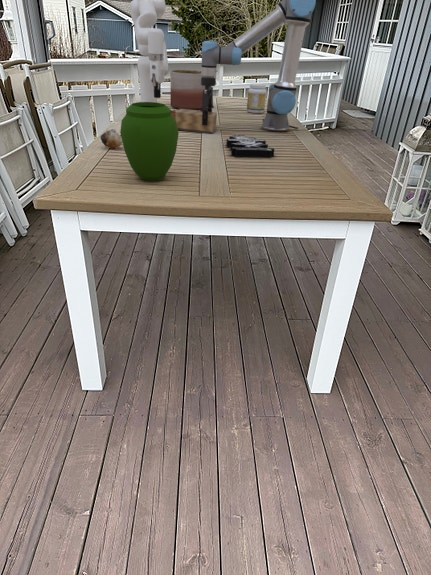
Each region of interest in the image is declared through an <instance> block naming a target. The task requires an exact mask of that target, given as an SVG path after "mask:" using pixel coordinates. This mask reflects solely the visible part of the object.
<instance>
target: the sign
mask: <svg viewBox="0 0 431 575" xmlns="http://www.w3.org/2000/svg"><path fill="white" fill-rule="evenodd" d="M225 144H226V148H229V151H230V155H231V156H233V157H235V158H272V157H274V156H275V148H274V147H269V144H268V143H267V140H265V139H262V138H260V139H258V138H256V137H250V136H245V134H238V135H237V134H234V135H229V137H228V138H226V143H225Z"/></svg>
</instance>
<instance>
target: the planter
mask: <svg viewBox="0 0 431 575" xmlns="http://www.w3.org/2000/svg"><path fill="white" fill-rule="evenodd" d="M201 78H202V76H201V70H196V69H195V70H194V69H171V70H170V106H171V107H172V108H174V109H177V110H180V109H188V110H198V111H201V110H202V101H203V90H205V86H203V85H201Z"/></svg>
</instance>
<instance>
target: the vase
mask: <svg viewBox="0 0 431 575" xmlns="http://www.w3.org/2000/svg"><path fill="white" fill-rule="evenodd" d="M171 111H172V109H171V108H170V107H169V106H167V105H166V104H164V103H162V102H157V103H156V102H141V101H138V102H132V103H131V104H130V105H128V107H127V108H125V113H126V114H125V115H124V117H122V119H121V122H120V123H121V124H120V130H119V133H120V134H119V135H120V136H121V138H122V142H123V143H122V147H123V150H124V154H125V155H126V158H127V160H128V163H129V165H130V167H131V168H132V170H133V172H134V173H135V175H136V176H137V177H138V178H139V179H141V180H143V181H145V182H159V181H161V180H163V179H164V178H165V176H166V175H167V174H168V173H169V170H170V169H171V167H172V165H173V162H174V159H175V157H176V156H175V155H176V153H177V147H178V140H179V130H178V128H177V123H176V120H175V119H174V118H173V116H172V115H171Z"/></svg>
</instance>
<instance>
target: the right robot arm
mask: <svg viewBox="0 0 431 575" xmlns="http://www.w3.org/2000/svg"><path fill="white" fill-rule="evenodd" d="M316 1H317V0H281V1H280V2H279V3H277V4H276V5H275V6H276V7H275V8H274V9H273V10H272V11H271V12H269V13H268V14H267V15H265V16H264V17H263V18H262V19H260V20H259V21H257V22H256V23H255V24H254V25H252V26H251V27H250V28H249V29H247V30H245V32H243V33H242V34H240V35H239V36H238V37H236V39H234V40H233V41H232V42H230V43H228V45H225V46H219V45H218V41H214V40H213V41H212V40H204V41H203V42H202V47H201V68H200V71H201V76H202V78H201V85H203V86H205V90H203V101H202V109H201V110H200V111H201V112H202V125H207V122H208V112H213V109H214V108H215V106H214V87H215V86H217V78H216V76H217V73H218V69H217V65H228V66H229V65H230V66H240V65H241V62H242V55H243V54H245V53H246V52H248V50H250V49H251V48H253V47H254V46H255V45H256V44H258V43H259V42H261V41H262V40H263V39H265V38H266V37H268V36H269V35H270V34H271V33H273V32H274V31H275V30H277V29H278V28H280V27H281V26H282V25H286V26H287V27H286V31H285V37H284V44H283V49H282V55H281V61H280V67H279V70H278V71H279V72H278V79H277V81H275V82H274V83H271V84H269V87H268V93H267V94H268V96H267V104H266V113H265V117H264V118H262V124H261V129H262V130H264V131H267V132H273V133H284V132H288V131H289V130H290V128H291V129H295V130H298V129H299V127H298V126H293V125H289V118H288V114H290V113H291V112H292V111H293V110H294V108H295V107H296V103H297V102H296V99H297V98H296V93H297V88H298V86H297V85H296V78H297V72H298V69H299V68H298V67H299V63H300V57H301V52H302V47H303V43H304V36H305V32H306V28H307V27H308V26H309V25H310V24H311V18H312V13H313V12H314V10H315V7H316V3H317V2H316Z"/></svg>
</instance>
